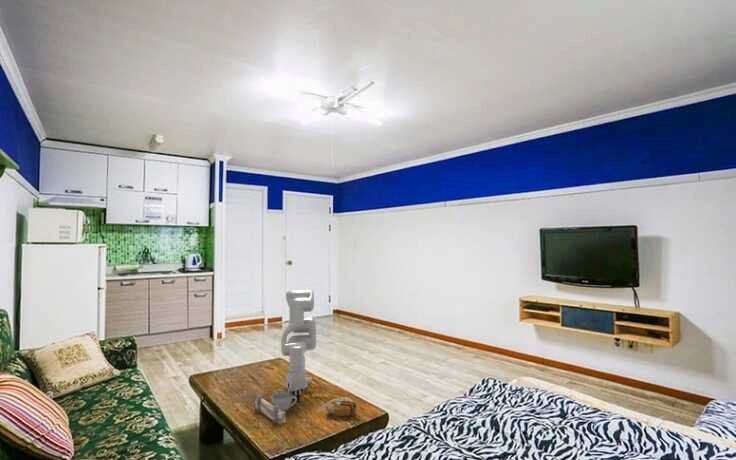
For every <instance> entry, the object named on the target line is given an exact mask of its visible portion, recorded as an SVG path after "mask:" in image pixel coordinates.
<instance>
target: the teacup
mask: <svg viewBox="0 0 736 460" xmlns="http://www.w3.org/2000/svg"><path fill="white" fill-rule="evenodd" d="M270 399H271V400H270V401H271V402H270V404H272V405H279V409H280V410H282V411H283V412H285V413H286V412H287V411H288V410H289V409H290V408H292V406H294V405H295V404H297V403H296V402H297V397H296V396H294V395H292V394H289V393H288V391H285V392H284V391H281V392H276V393H273V394H272V395H271V396H270ZM294 399H295V402H294V401H293V402H292V400H294Z"/></svg>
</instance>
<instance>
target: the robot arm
mask: <svg viewBox="0 0 736 460" xmlns="http://www.w3.org/2000/svg"><path fill="white" fill-rule="evenodd" d="M314 295H315V294H314V291H313V290H312V289H293V290H289V291H287V292H286V294H285V298H286V303H287V305H288V307H289V323H288V326H287V327H286V328H285V329H284V331H283V332H282V335H281V338H280V339H281V341H280V342H281V344H280V345H281V347H280V352H281V354H282V356H284V357H289V359H288V360H289V361H288V362H289V371H288V372H287V376H286V390H287V392H288V393H289V394H291V395H292V396H296V397H297V402H296V403H295V404H298V403H300V400H301V398H300V397H301V393H302V391H304V390H305V389H306V388H308V382H310V381H312V380H313V378H312V376H309V377H308V376H306V357H305V354H306V352H307V351H313V350H315V349H316V347H317V325H316V323H317V322H316V319H315V318H314V317H312V316H311V317H309V316H308V317H305V315H304V314H305V313H307V312H308V313H309V312H312V311H314V308H315V296H314ZM291 333H293V334H295V335H291V336H290V337H289V338H288V340H287V337H288V335H289V334H291ZM304 333H305V334H304ZM296 334H298V335H296ZM294 402H295V399H294V398H293V403H294Z"/></svg>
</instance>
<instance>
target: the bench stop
mask: <svg viewBox="0 0 736 460" xmlns="http://www.w3.org/2000/svg"><path fill="white" fill-rule="evenodd" d="M255 409H256V412H257V413H261V414H263V415H264V416H266V417H268V418H269V419H270V420H272V423H273V424H276V425H277V424H278V425H279V426H282V425H284V424H286V421H287V420H286V419H287V417H286V415H287V414H286V411H285V412H283V411H282V410H280V409H279V405H272V404H271V402H269V401H267V400H265V399H264V398H263V396H262V395H261V394H257V395H256V398H255Z"/></svg>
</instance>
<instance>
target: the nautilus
mask: <svg viewBox="0 0 736 460" xmlns="http://www.w3.org/2000/svg"><path fill="white" fill-rule="evenodd" d="M324 408H325V411H326V412H328V413H329V414H332V415H334V416H336V417H345V416H349V417H353V418H355V419H358V420H360V416H359V412H360V410H359V408H357V403H356V402H355V401H354V400H352V399H351V398H350V397H347V396H342V397H341V396H340V397H337V398H333V399H331V400H329V401H327V402H326V403H325V407H324Z"/></svg>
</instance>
